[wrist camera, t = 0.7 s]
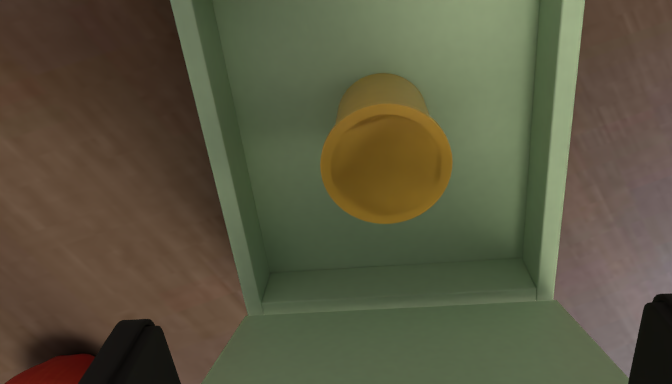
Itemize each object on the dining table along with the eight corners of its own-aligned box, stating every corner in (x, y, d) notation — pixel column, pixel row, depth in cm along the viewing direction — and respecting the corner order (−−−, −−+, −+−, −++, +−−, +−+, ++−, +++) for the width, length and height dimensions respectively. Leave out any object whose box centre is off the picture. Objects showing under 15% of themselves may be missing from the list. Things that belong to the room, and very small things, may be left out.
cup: (356, 47, 21) (353, 81, 16) (453, 92, 21) (478, 137, 17) (314, 141, 23) (300, 195, 18) (404, 179, 23) (414, 242, 19)
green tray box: (192, -30, 21) (163, -25, 18) (559, -76, 19) (594, -78, 16) (260, 276, 28) (248, 316, 25) (532, 260, 26) (553, 301, 23)
